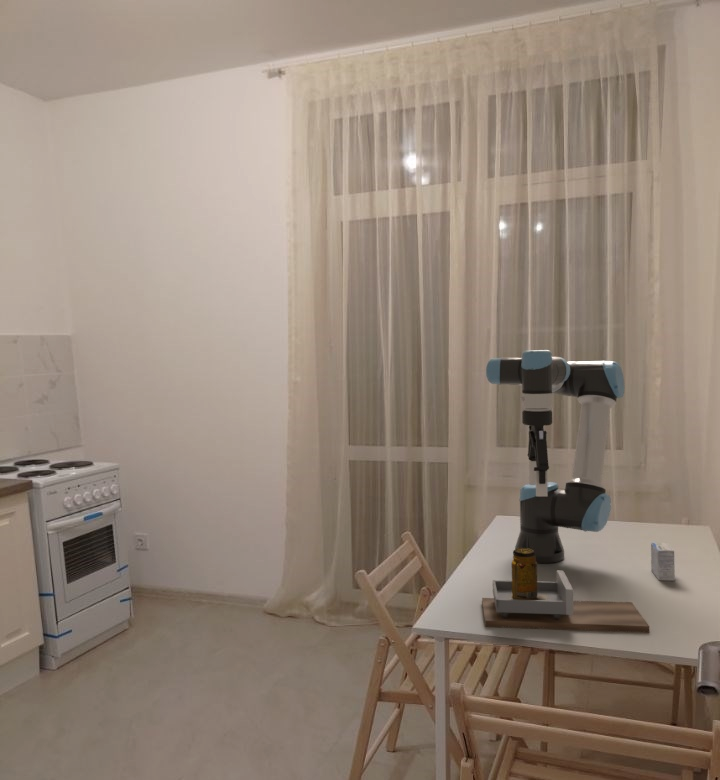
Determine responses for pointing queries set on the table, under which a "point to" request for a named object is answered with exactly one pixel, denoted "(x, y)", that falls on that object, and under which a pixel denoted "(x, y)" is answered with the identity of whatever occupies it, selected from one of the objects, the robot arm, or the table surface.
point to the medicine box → (662, 561)
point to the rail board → (573, 617)
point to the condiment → (525, 575)
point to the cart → (555, 603)
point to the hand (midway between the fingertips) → (537, 490)
